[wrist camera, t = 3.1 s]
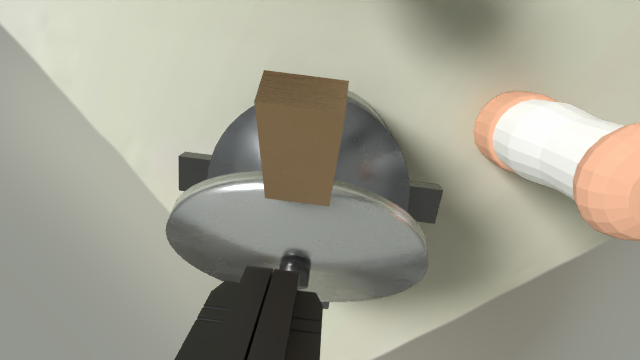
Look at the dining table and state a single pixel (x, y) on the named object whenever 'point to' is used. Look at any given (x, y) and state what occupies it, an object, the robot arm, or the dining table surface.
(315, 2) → the dining table surface
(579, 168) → the pepper shaker
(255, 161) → the cooker pot
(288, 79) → the cooker lid
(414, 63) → the dining table surface
